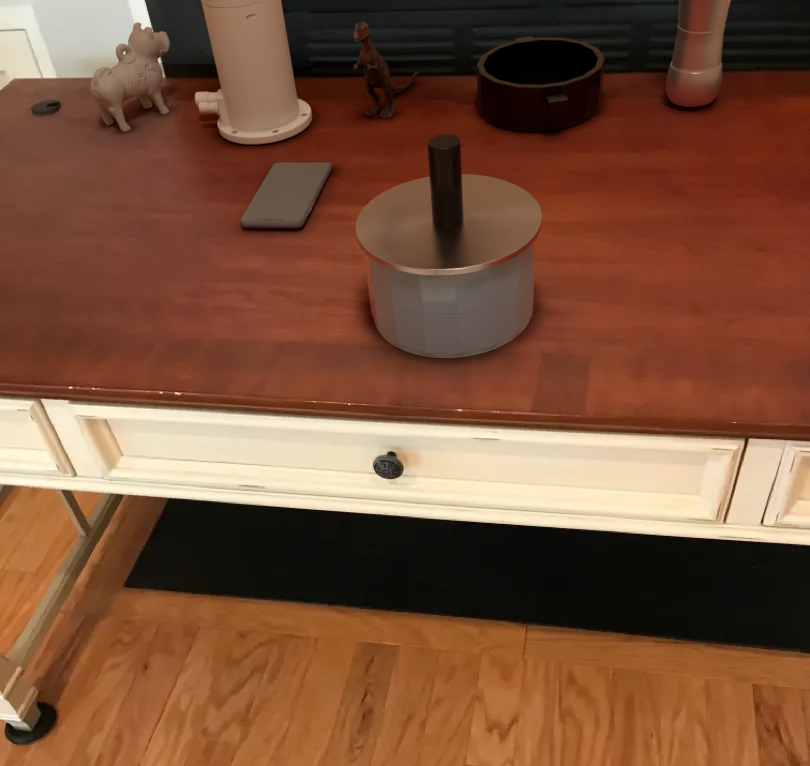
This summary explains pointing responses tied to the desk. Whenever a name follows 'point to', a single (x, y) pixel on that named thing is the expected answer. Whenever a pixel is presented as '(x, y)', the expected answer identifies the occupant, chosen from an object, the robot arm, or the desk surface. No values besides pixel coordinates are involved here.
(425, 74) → the desk surface
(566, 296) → the desk surface
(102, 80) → the dog figurine
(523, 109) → the pan
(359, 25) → the dinosaur model
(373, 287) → the pot
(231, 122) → the robot arm
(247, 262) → the desk surface
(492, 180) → the lid
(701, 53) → the plastic bottle
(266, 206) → the smartphone
